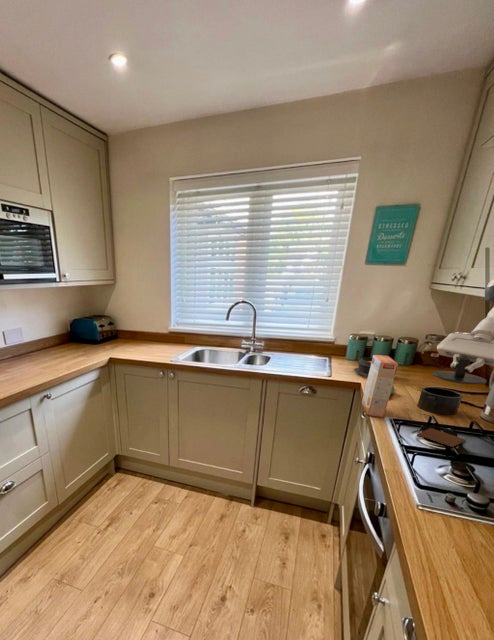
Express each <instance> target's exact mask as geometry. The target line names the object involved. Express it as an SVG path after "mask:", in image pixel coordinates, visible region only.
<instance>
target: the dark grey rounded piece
mask: <svg viewBox="0 0 494 640" xmlns="http://www.w3.org/2000/svg"><path fill="white" fill-rule="evenodd" d="M372 358H373V357H369V356H368V357H367V356H366V357H361V358H359V360H358V361H357V364H358V367H355V368H354V372H355V373H357V374H360V375H361V376H362V377H366V378H368V375H369V371H370V366H371V362H372Z"/></svg>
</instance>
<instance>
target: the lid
mask: <svg viewBox="0 0 494 640" xmlns="http://www.w3.org/2000/svg"><path fill="white" fill-rule="evenodd" d="M457 362H458V364H457V367H456V369H454V371H451V370H435V371H433V372H432V376H434V377H435V378H437V379H441V380H443V381H447V382H451V383H455V384H459V385H460V384H461V385H484V384H487V381H488V380H487V379H486V378H484V377H482V376H478V375H475V374H470V373H467V372H466V371H465V367H466V366H467V365H468V364H470V362H471V361H470V360H469V359H465V358H459V361H457Z"/></svg>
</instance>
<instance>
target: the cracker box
mask: <svg viewBox="0 0 494 640" xmlns="http://www.w3.org/2000/svg"><path fill="white" fill-rule="evenodd" d="M371 358H372V362H371V366H370V371H369V375H368V377H367V379H366V384H365V388H364V392H363V396H362V400H361V406H362V407H363V409H364V411H365V413H366V414H367V416H372V417H377V418H385V414H386V410H387V407H388V403H389V401H390V400H389V399H390V397H391V395H390V392H391V389H392V385H393V386H394V381H395V376H396V374H397V370H398V366H399V363H397V362H396V361H395V360H394V359H393V358H392V357H390V356H389V355H384V354H383V355H382V354H373V355H372V357H371Z"/></svg>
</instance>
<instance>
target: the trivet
mask: <svg viewBox="0 0 494 640" xmlns="http://www.w3.org/2000/svg"><path fill="white" fill-rule="evenodd" d="M416 437H418V438H420V437H425V438H427V439H430V440H433V441H436V442H438V443H441V444H445V445H447V446H450V447H454V446H456V445H457V446H459V445H461V444H462V443H464V442H466V439H465V438H462V437H460V436H456V435H454V434H450V433H447V432H444V431H441V430H438V429H435V428H432V427H429V428H427V429H425V430H423V431H421V432H419V433H417V434H416ZM457 446H456V447H457ZM454 448H455V447H454Z"/></svg>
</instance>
